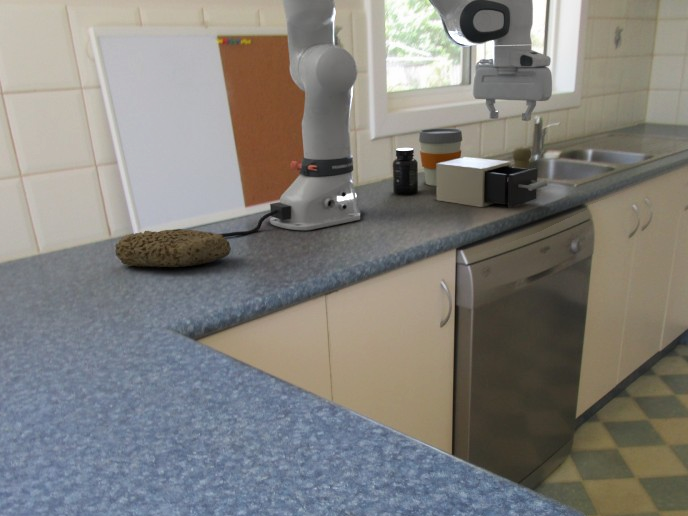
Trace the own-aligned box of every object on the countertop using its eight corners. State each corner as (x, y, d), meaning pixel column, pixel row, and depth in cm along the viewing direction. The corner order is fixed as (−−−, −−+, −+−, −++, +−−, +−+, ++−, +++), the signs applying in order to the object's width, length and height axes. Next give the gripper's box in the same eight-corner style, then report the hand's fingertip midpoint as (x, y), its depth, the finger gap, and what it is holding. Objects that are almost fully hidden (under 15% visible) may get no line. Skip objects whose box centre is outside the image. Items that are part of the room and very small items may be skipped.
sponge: (114, 277, 125) (197, 265, 117) (105, 236, 124) (189, 221, 116) (163, 269, 137) (242, 257, 129) (156, 231, 136) (235, 217, 128)
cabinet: (509, 198, 174) (511, 161, 171) (482, 207, 165) (482, 168, 162) (464, 192, 183) (465, 156, 180) (436, 200, 174) (436, 163, 171)
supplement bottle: (388, 193, 185) (387, 149, 180) (407, 189, 188) (406, 146, 184) (403, 196, 179) (402, 151, 175) (423, 193, 183) (422, 149, 179)
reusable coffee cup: (426, 188, 189) (425, 134, 184) (415, 180, 201) (413, 129, 195) (467, 185, 192) (468, 132, 187) (454, 177, 203) (454, 127, 198)
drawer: (551, 201, 165) (552, 169, 163) (527, 209, 158) (528, 177, 155) (491, 193, 177) (492, 163, 174) (466, 200, 169) (466, 170, 166)
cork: (525, 190, 183) (526, 149, 179) (505, 188, 186) (506, 148, 182) (535, 186, 187) (536, 147, 183) (515, 184, 191) (517, 145, 187)
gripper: (467, 59, 160) (467, 118, 164) (543, 58, 147) (539, 122, 152) (482, 58, 164) (481, 116, 169) (557, 57, 151) (553, 120, 156)
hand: (509, 119), depth 160 cm, fingers open, 8 cm apart
